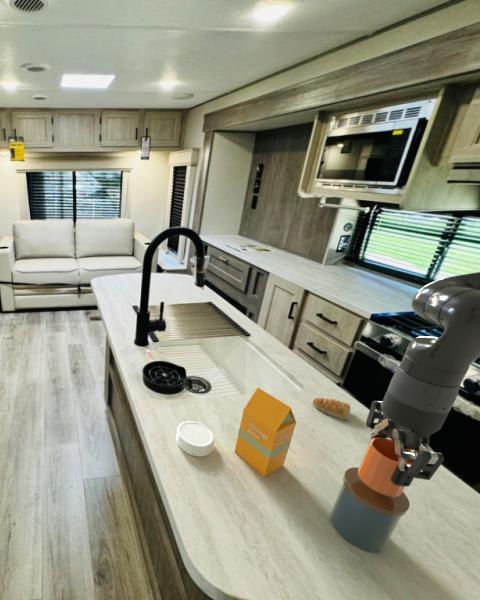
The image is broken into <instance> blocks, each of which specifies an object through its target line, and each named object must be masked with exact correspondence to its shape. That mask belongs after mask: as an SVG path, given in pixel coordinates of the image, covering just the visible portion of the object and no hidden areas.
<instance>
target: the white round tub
mask: <svg viewBox="0 0 480 600" xmlns="http://www.w3.org/2000/svg"><path fill="white" fill-rule="evenodd" d="M175 439H176V444H177V445H178V447H179V448H180V449H181V450H182V451H183V452H185V453H187V454H188V455H189V456H190V455H191V456H194V457H207V456H209V455H211V453H212V452H213V451H214V447H215V442H216V439H215V434H214V433H213V431H212V430H211V429H210V428H209V427H207V426H206V425H205V424H204V423H200V422H197V421H192V420H191V421H189V420H188V421H184V422H182V423H180V424H179V425H178V426H177V428H176V434H175Z"/></svg>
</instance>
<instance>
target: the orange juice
mask: <svg viewBox="0 0 480 600" xmlns="http://www.w3.org/2000/svg"><path fill="white" fill-rule="evenodd" d="M241 415H242V416H241V420H240V425H239V428H238V432H237V439H236V444H235V448H234V453H236V454H237V455H238V456H239V457H240V459H242V460H244V462H246V463H247V464H248V465H249V466H251V467H252V468H253V469H254V470H255V471H256V472H257V473H258V474H260V475H261V476H262V477H263V478H265V477H267V476H268V475H270V474H272V473H273V472H276V471H277V470H278V469H280V468H283V467H284V464H285V462H286V458H287V455H288V451H289V449H290V446H291V442H292V438H293V435H294V432H295V429H296V424H297V421H296V418H295V416H294V412H293V410H292V407H291V406H289V405H287V404H286V403H284V402H282V401H280V400H279V399H277V398H276V397H275V396H272V395H271V394H269V393H268V392H266V391H265V390H263V389H261V388H260V387H257V388H256V390H255V391H254V393H253V394H252V395H251V397H250V399H249V401H248V402H247V404H246V405H245V406H244V408H243V410H242V414H241Z"/></svg>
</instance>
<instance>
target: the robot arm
mask: <svg viewBox="0 0 480 600" xmlns="http://www.w3.org/2000/svg"><path fill="white" fill-rule="evenodd" d="M411 307H412V310H413V312H414V313H415V314H416V315H417V316H418V317H419V318H421V319H422V320H425V321H427V322H429V323H431V324H433V325H434V326H437V327H438V328H441V329H443V330H444V331H443V333H442V334H441V336H439V337H436V336H426V335H425V336H418V337H415V338H413V339H412V340H411V341H410V342H409V343H408V345H407V347H406V349H405V352H404V353H403V356H402V359H401V362H400V364H399V366H398V368H397V369H396V371H395V372H394V374H393V375H392V377H391V380H390V382H389V385H388V387H387V390H386V392H385V394H384V397H383V399H382V401H380V400H372V402H371V404H370V408H369V410H368V415H367V418H366V421H365V426H366V428H370V432H369V433H370V436H371V437H370V438H369V441H368V443H369V442H370V440H371V439H372V438H376V437H381V438H387V439H390V440H392V441H393V443H394V444H395V454H396V455H397V456H398V467H397V468H396V470H395V472H394V474H393V476H392V478H391V481H392V482H393V484H394V485H398V486H404V487H405V488H406V487H407V488H408V487H410V486H411V484H412V482H413V480H414V479H418V480H419V479H420V480H425V481H430V480H431V479H432V477H433V476H434V475H435V473H436V472H437V471H438V469H439V468H440V467H441V465H442V464H443V463H444V461H445V456H444V454H442V453H441V452H436V451H434V450H433V449H432V447H430V436H431V435H433V434H435V433H437V432H439V431H441V429H442V427H443V425H444V423H445V422H446V419H447V417H448V416H449V413H450V412H451V409H452V407H453V406H454V404H455V402H456V400H457V397H458V394H459V390H460V387H461V384H462V383H463V382H464V379H465V377H466V375H467V372H468V371H469V369H470V367H471V365H472V364H473V363H474V362H475V361H477V359H479V358H480V271H476V272H470V273H465V274H459V275H453V276H447V277H444V278H441V279H438V280H434V281H432V282H430V283H428V284H426V285H424V286H423V287H421V288H420V289H419V290H417V292H416V293H415V294H414V296H413V298H412V300H411ZM375 420H377V422H376V421H375ZM403 449H408V450H411V451H412V452H413V453H408V452H404V451H403ZM408 458H409V459H411V463H412V464H411V465H408V464H407V459H408Z"/></svg>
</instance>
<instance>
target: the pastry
mask: <svg viewBox="0 0 480 600" xmlns="http://www.w3.org/2000/svg"><path fill="white" fill-rule="evenodd" d="M312 406H314V408H316V409H317V410H318V411H320V412H323V413H324V414H326V415H328V416H331V417H334V418H338V419H339V420H343V421H347V420H349V419H350V417H351V405H350V403H348V402H343V401H342V400H341V401H340V400H337V399H335V398H324V397H316V398H314V399H313V400H312Z"/></svg>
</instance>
